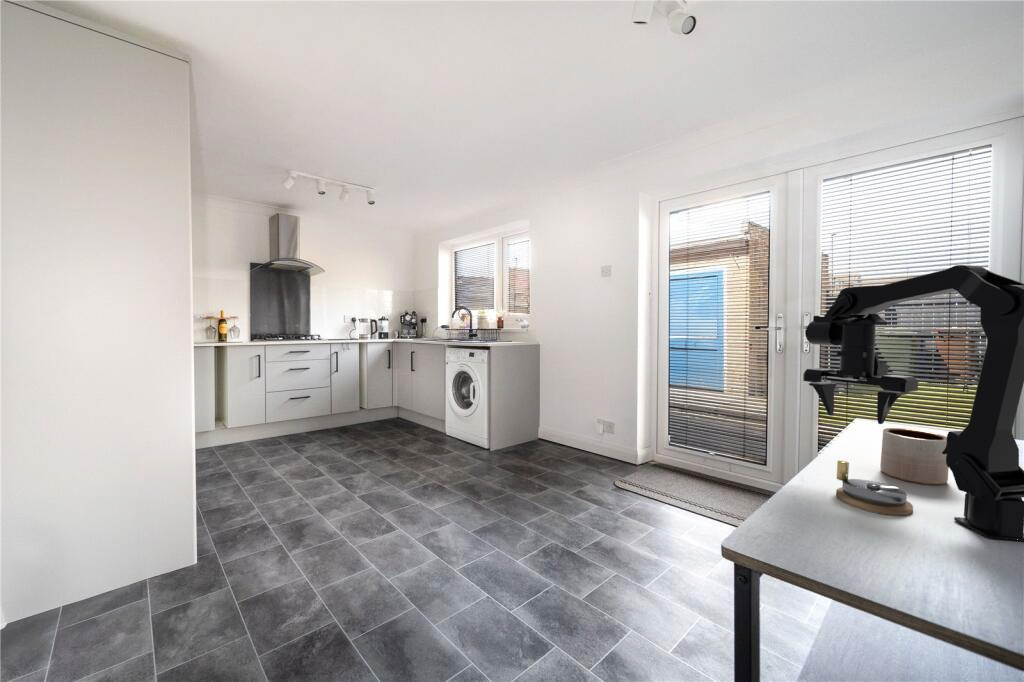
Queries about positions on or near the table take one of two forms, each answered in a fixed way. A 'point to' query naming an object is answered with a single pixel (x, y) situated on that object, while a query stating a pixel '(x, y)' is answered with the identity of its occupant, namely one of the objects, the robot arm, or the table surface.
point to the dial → (869, 489)
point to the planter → (914, 456)
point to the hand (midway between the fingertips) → (854, 419)
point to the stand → (875, 505)
